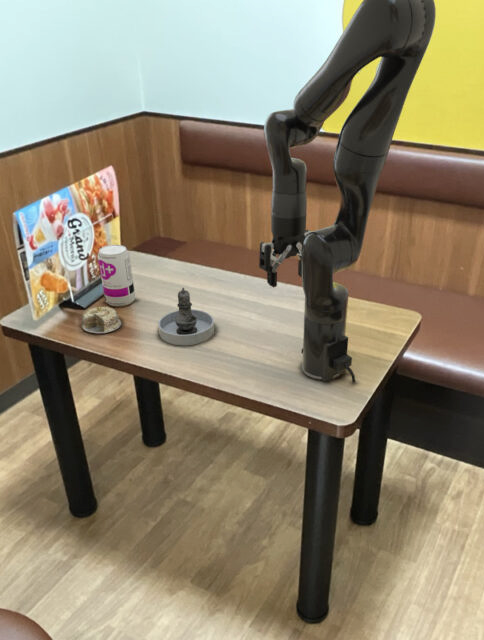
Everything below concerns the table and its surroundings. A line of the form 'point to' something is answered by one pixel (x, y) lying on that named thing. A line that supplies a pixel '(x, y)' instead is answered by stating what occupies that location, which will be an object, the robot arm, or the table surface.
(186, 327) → the dark grey chess piece
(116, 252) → the supplement can
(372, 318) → the table surface
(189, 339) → the tin
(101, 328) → the cake
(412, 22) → the robot arm
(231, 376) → the table surface
